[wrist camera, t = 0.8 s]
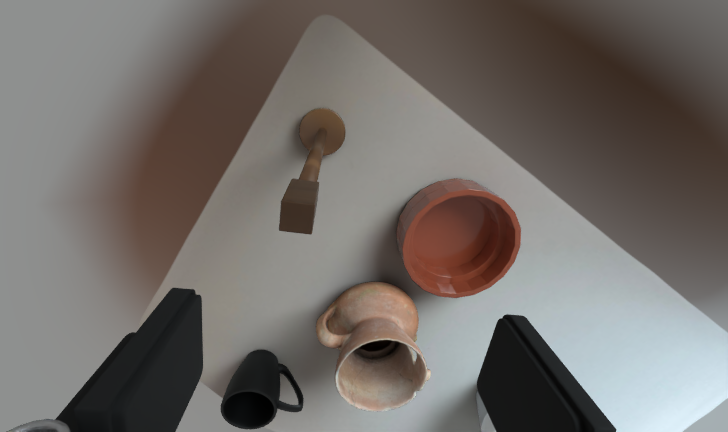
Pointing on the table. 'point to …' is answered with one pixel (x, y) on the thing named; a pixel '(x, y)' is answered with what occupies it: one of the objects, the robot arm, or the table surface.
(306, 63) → the table surface
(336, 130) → the wooden dowel plunger
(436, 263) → the mixing bowl
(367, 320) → the ceramic jug
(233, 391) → the mug
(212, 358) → the table surface
